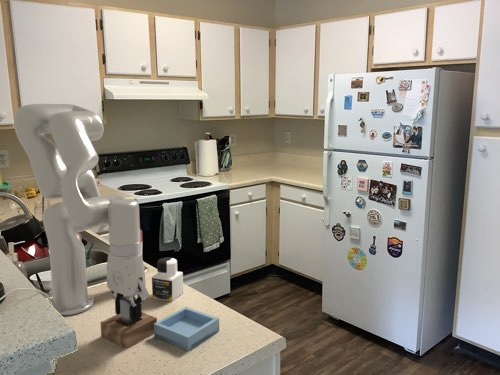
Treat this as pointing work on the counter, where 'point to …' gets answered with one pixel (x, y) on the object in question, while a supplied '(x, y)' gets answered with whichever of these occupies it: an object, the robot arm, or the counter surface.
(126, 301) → the peg
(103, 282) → the counter surface
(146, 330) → the hole block
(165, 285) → the medicine bottle
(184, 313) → the tray
